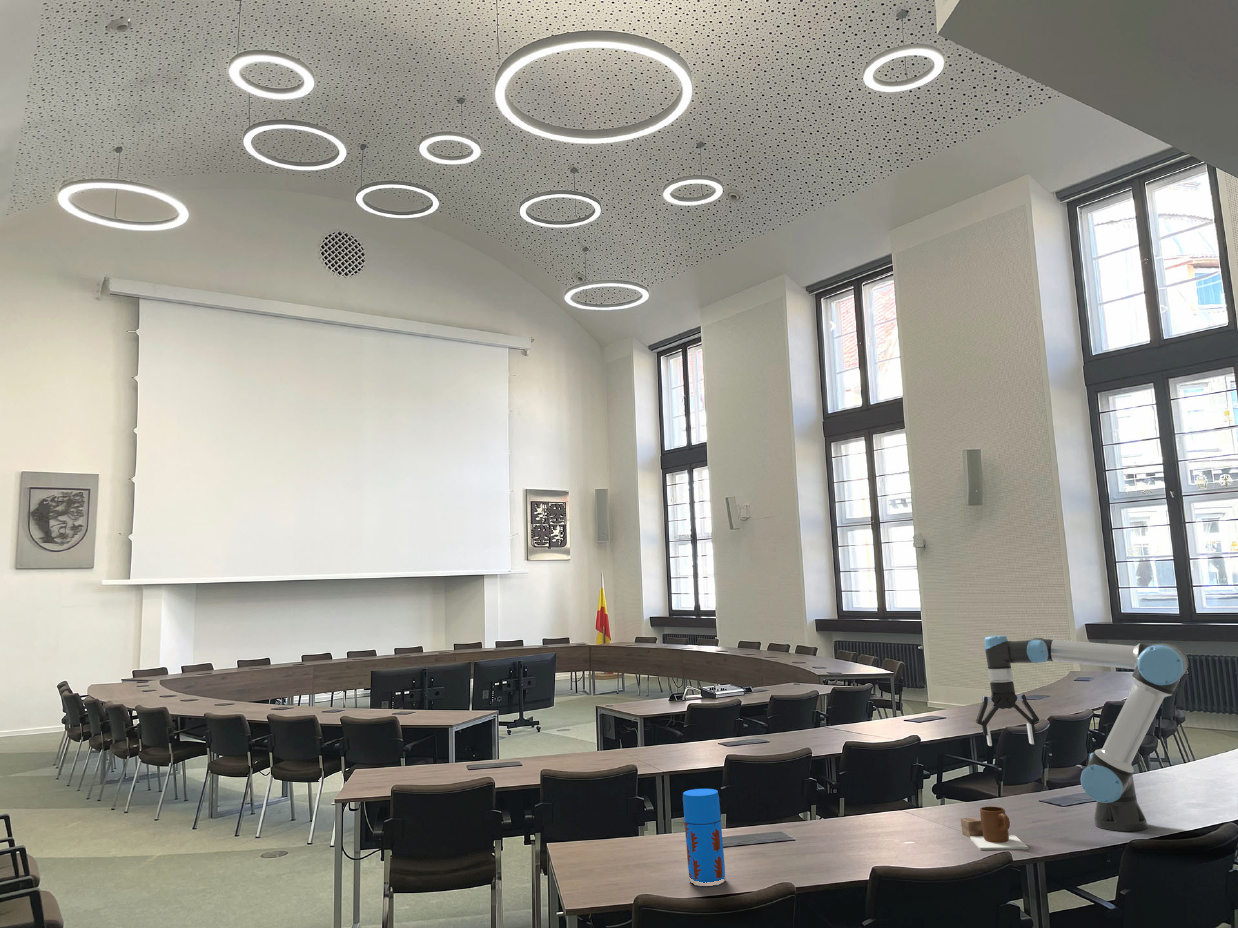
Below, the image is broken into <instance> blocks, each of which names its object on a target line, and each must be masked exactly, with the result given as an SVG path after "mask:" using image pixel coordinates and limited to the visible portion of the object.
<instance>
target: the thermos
mask: <svg viewBox="0 0 1238 928" xmlns="http://www.w3.org/2000/svg"><path fill="white" fill-rule="evenodd" d="M718 791H719V790H717V789H714V788H694V789H689V790H686V791H684V792H683V793H682V803H683V805H682V806H683V818H684V829H685V843H686V845H685V846H686V856H687V869H688V876H689V877H690V878H691V879H693V880H694V881H699V882H703V883H705V882H706V883H707V882H714V881H719V880H721V879H724V877H725V878H726V866H725V855H724V854H725V853H724V843H723V842H724V841H723V830H722V829H723V828H722V819H721V806H720V796H719V792H718ZM689 877H688V878H689Z"/></svg>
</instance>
